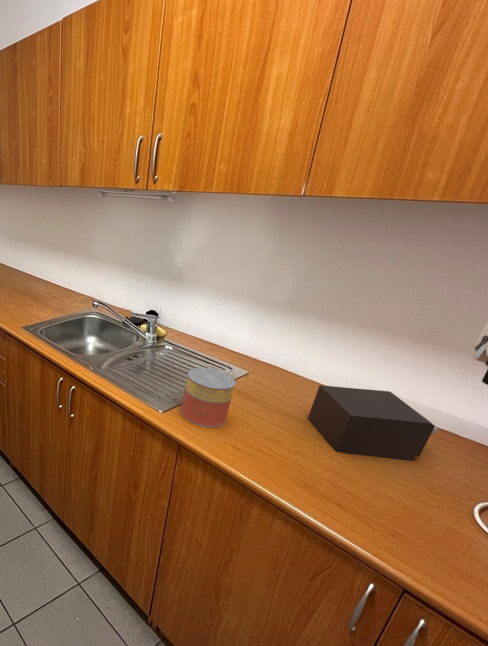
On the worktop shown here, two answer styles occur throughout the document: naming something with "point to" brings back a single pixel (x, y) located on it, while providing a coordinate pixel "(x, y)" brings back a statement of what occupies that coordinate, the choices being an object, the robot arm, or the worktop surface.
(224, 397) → the canned food
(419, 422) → the dark brown box
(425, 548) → the worktop surface
